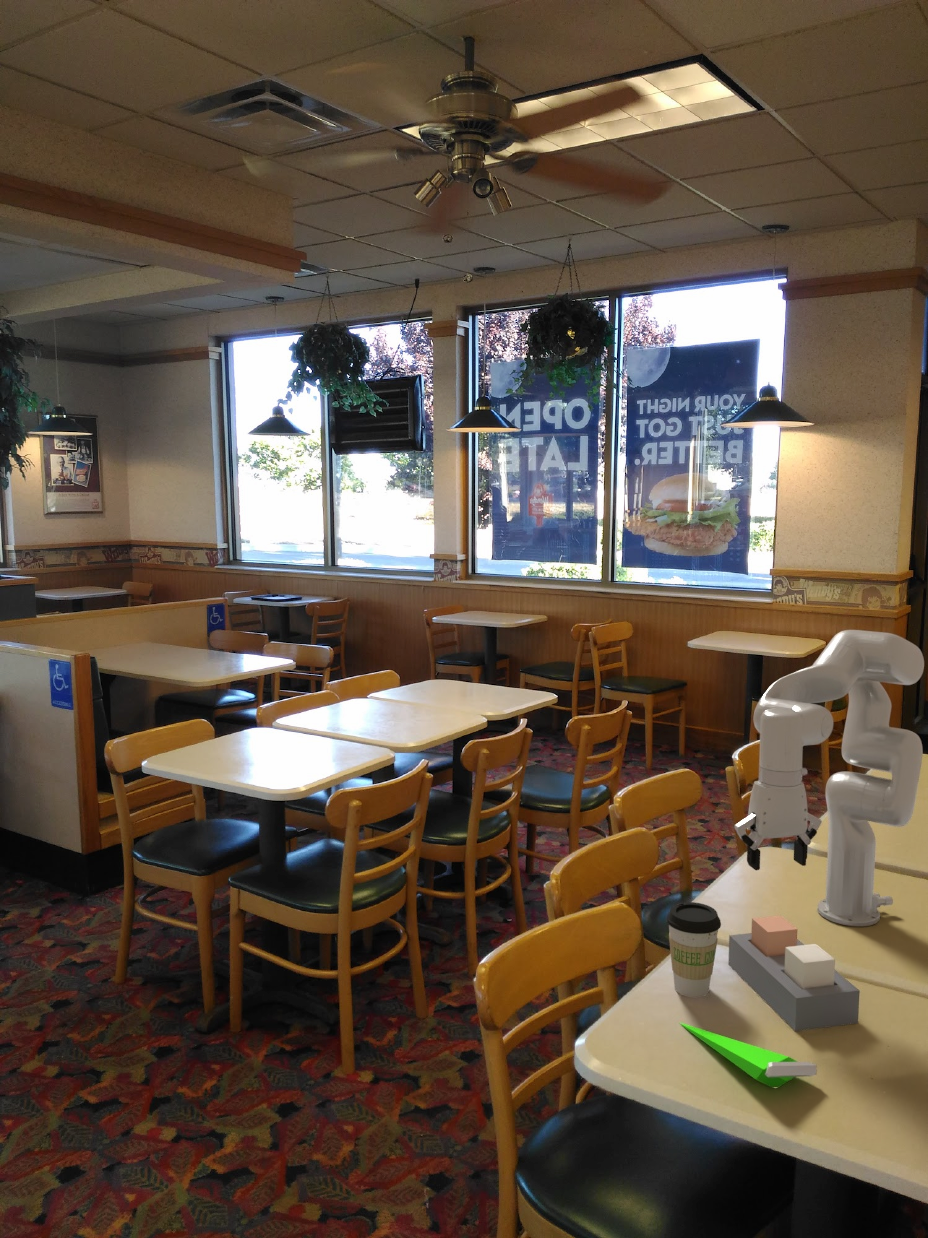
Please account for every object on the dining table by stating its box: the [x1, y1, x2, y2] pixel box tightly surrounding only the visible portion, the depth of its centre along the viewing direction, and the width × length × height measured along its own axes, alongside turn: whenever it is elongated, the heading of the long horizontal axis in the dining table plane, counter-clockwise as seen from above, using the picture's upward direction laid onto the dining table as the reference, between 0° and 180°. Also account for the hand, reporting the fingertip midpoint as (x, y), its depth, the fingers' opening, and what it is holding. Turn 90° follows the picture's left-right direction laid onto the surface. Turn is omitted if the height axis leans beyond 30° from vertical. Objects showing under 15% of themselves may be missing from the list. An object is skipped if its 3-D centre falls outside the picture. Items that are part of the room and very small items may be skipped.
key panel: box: [728, 932, 860, 1032], centre depth 176 cm, size 12×24×6 cm, turn 12°
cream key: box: [784, 943, 836, 989], centre depth 169 cm, size 6×6×6 cm
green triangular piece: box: [679, 1022, 818, 1088], centre depth 156 cm, size 11×5×25 cm
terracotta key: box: [750, 915, 798, 957], centre depth 181 cm, size 6×6×6 cm
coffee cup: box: [665, 901, 722, 998], centre depth 177 cm, size 10×10×15 cm
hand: (776, 865), depth 179 cm, fingers open, 9 cm apart
